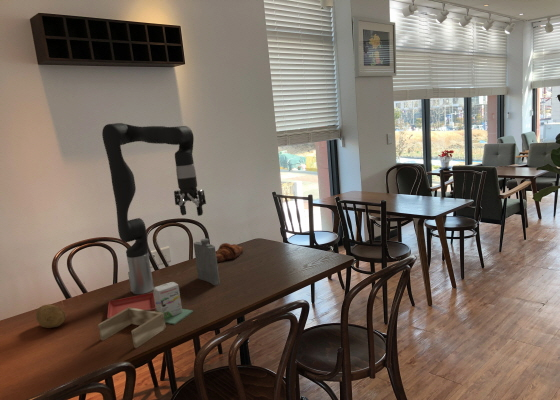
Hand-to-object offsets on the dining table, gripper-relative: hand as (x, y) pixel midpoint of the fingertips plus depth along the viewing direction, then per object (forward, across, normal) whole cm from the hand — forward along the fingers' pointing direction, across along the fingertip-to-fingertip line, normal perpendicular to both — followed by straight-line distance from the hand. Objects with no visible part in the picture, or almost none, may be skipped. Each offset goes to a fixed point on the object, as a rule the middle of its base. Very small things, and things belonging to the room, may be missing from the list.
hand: (192, 215), depth 177 cm
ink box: (+35, -1, -20) cm, 40 cm away
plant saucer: (+36, -20, -21) cm, 46 cm away
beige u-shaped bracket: (+35, -3, -36) cm, 50 cm away
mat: (+35, -1, -20) cm, 40 cm away
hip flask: (+36, -8, +15) cm, 40 cm away
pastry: (+36, -20, +47) cm, 63 cm away
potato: (+35, -41, -42) cm, 68 cm away
